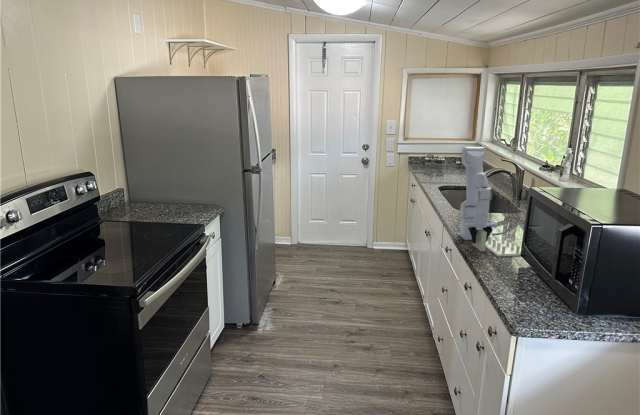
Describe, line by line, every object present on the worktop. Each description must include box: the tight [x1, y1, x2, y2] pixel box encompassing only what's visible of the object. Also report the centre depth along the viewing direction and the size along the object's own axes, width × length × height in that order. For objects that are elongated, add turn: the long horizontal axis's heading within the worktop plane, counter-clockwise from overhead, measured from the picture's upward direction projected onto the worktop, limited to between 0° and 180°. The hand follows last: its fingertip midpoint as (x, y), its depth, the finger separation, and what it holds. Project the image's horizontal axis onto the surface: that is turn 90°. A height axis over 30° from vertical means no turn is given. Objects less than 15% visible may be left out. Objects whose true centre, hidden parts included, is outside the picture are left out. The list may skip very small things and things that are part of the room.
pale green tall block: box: [471, 228, 487, 252], centre depth 199 cm, size 2×9×9 cm, turn 4°
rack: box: [485, 235, 522, 257], centre depth 197 cm, size 17×13×4 cm
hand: (479, 242), depth 199 cm, fingers open, 4 cm apart
